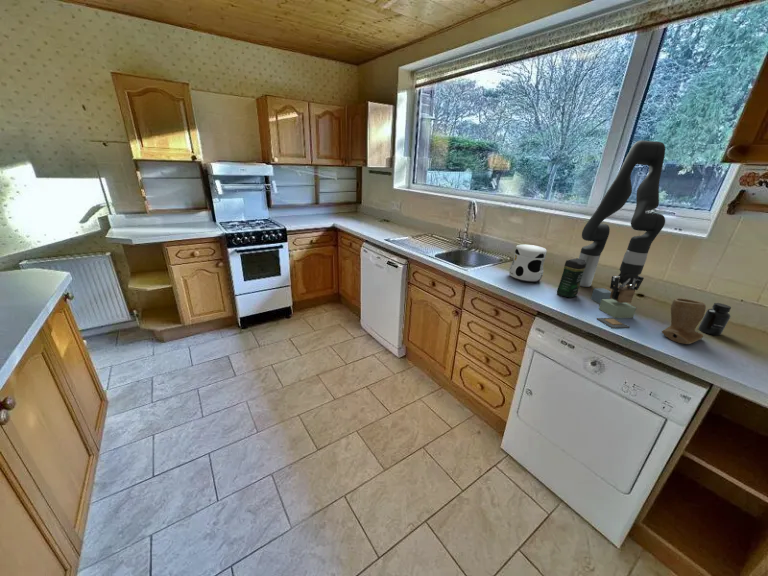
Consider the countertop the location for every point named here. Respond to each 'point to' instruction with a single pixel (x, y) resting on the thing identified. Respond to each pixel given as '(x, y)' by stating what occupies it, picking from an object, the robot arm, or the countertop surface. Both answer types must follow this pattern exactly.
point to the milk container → (528, 263)
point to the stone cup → (685, 320)
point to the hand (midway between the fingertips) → (620, 298)
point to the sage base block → (617, 308)
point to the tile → (613, 322)
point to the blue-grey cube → (600, 294)
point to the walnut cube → (624, 295)
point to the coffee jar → (571, 277)
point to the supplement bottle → (715, 319)
